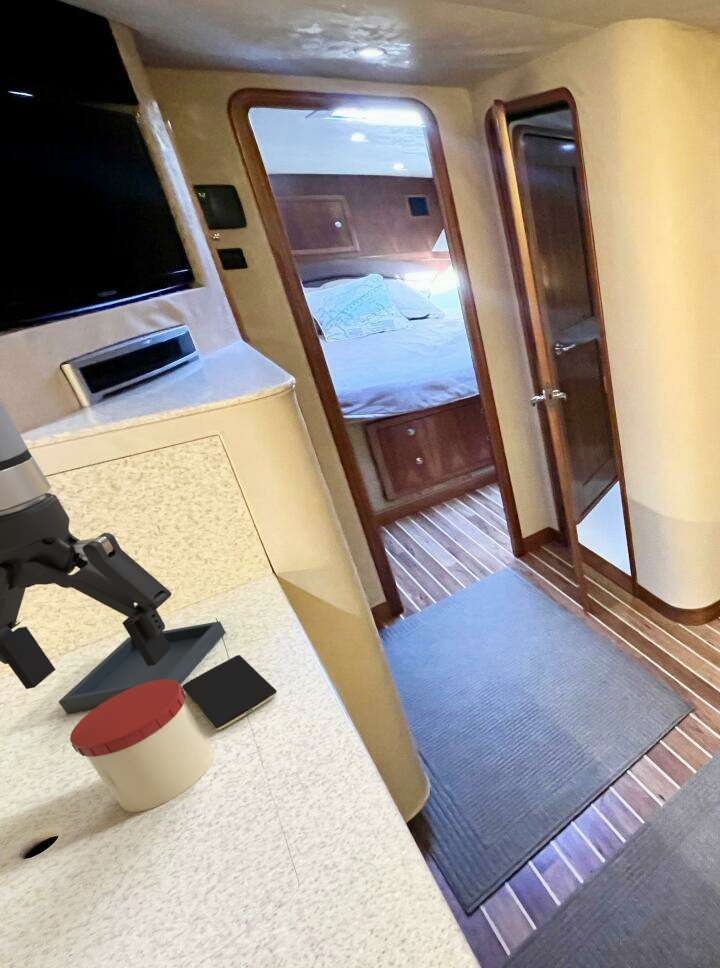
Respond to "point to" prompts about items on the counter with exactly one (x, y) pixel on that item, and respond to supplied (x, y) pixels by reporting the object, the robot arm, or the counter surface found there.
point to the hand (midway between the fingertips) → (101, 668)
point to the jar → (157, 764)
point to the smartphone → (229, 691)
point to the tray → (143, 666)
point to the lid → (127, 718)
